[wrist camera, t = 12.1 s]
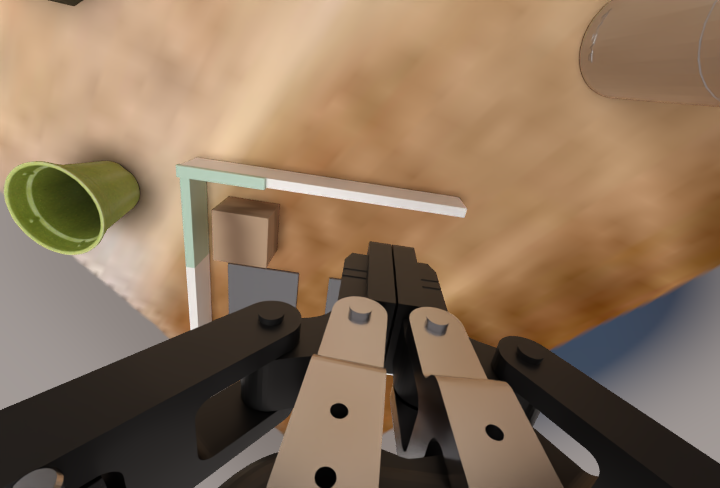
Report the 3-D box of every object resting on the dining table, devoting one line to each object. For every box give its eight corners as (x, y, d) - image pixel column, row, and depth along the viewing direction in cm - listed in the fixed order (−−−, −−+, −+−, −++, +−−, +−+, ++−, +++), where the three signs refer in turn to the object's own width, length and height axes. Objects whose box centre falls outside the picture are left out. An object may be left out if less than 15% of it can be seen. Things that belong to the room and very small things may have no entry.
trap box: (459, 196, 41) (468, 209, 37) (415, 357, 51) (418, 382, 47) (196, 156, 40) (175, 165, 36) (205, 327, 50) (189, 349, 46)
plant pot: (91, 225, 44) (30, 256, 37) (60, 148, 41) (-16, 164, 33) (164, 222, 44) (117, 253, 36) (139, 143, 40) (81, 159, 32)
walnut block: (280, 203, 42) (268, 218, 38) (277, 249, 45) (266, 268, 40) (229, 195, 42) (211, 210, 38) (229, 241, 45) (213, 260, 40)
